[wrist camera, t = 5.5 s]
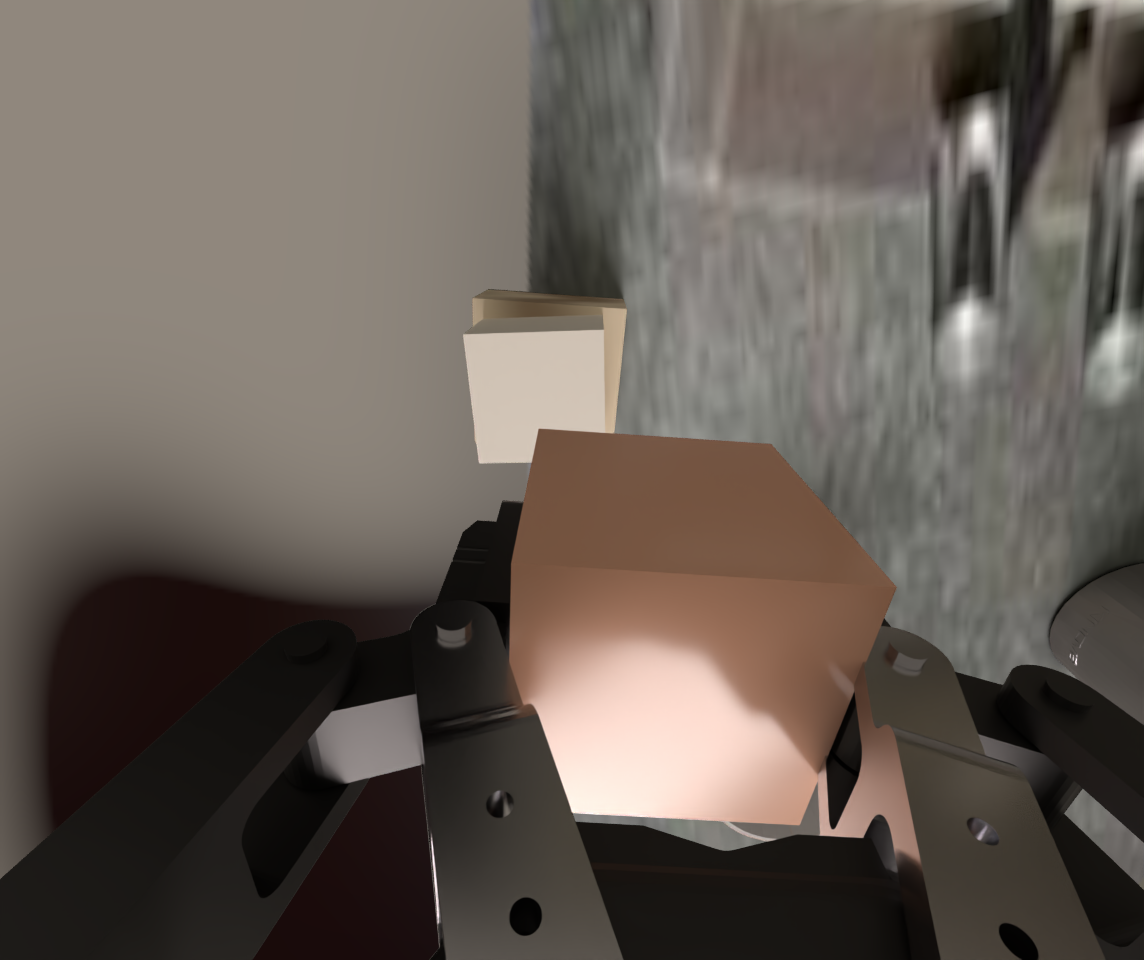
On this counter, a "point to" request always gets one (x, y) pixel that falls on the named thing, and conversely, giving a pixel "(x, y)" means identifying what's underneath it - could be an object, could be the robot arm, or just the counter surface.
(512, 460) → the cream block
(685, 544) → the terracotta cube
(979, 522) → the counter surface
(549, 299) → the birch base block
